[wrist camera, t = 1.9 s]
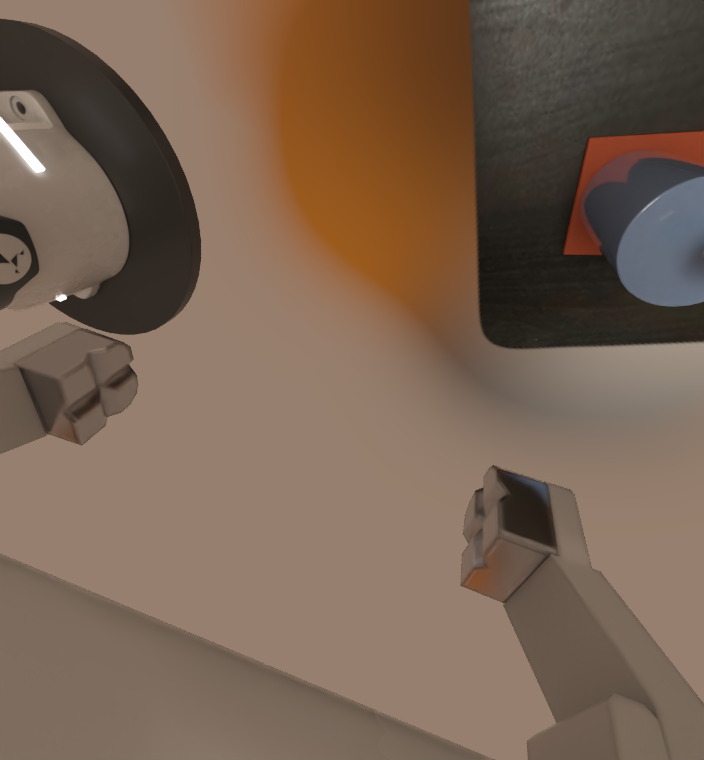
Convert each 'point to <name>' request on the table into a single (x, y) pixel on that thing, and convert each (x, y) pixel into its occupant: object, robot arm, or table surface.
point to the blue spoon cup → (650, 224)
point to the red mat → (610, 147)
